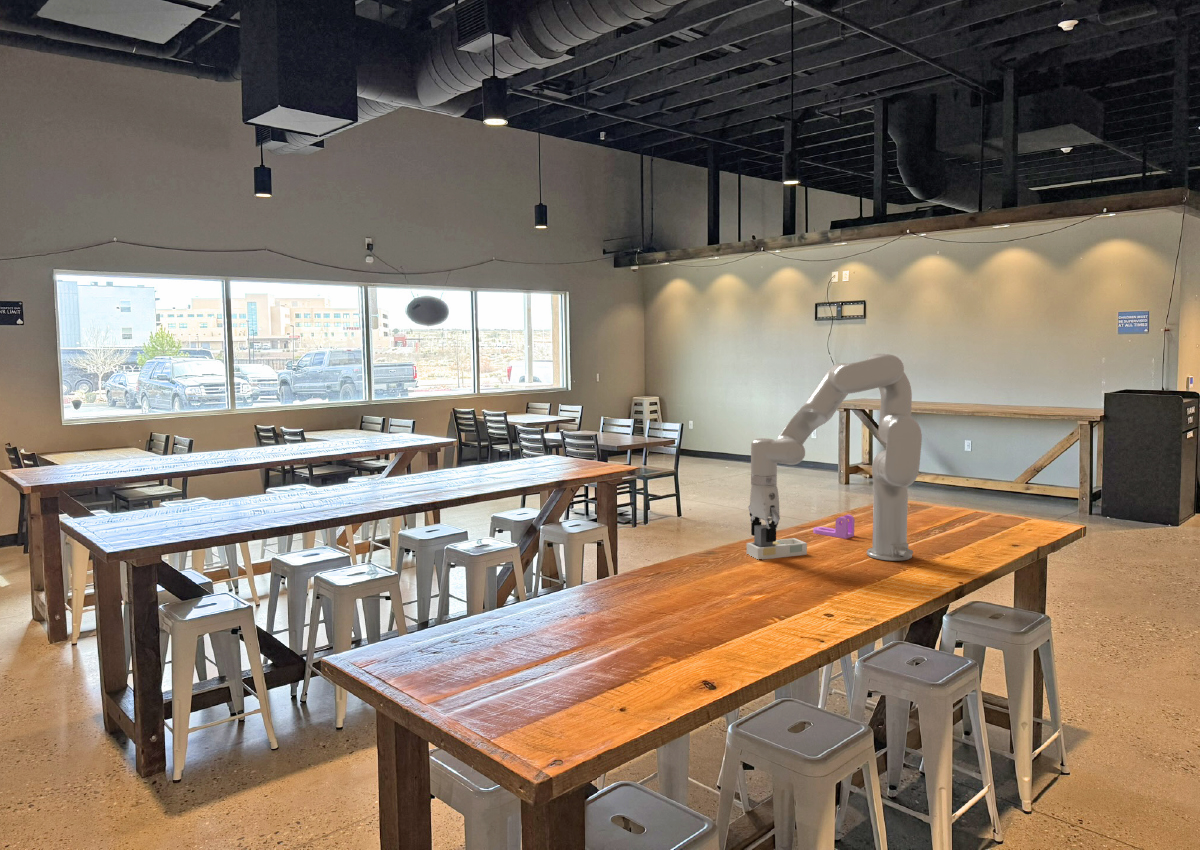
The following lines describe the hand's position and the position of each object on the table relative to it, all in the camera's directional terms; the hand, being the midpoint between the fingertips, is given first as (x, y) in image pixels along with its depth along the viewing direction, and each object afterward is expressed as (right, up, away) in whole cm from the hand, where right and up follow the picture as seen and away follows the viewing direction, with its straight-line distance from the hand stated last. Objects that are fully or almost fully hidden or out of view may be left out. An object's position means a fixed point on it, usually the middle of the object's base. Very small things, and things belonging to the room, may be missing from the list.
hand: (763, 538), depth 243 cm
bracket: (+28, -3, +26) cm, 39 cm away
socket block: (+4, -5, +2) cm, 7 cm away
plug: (0, -4, 0) cm, 4 cm away
